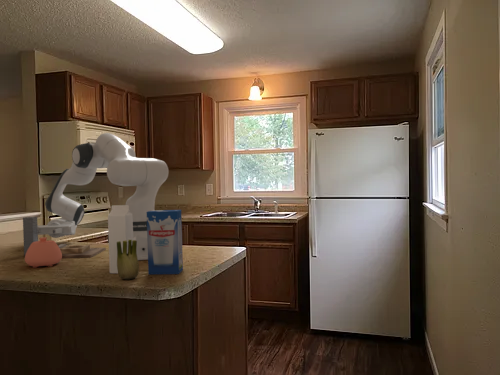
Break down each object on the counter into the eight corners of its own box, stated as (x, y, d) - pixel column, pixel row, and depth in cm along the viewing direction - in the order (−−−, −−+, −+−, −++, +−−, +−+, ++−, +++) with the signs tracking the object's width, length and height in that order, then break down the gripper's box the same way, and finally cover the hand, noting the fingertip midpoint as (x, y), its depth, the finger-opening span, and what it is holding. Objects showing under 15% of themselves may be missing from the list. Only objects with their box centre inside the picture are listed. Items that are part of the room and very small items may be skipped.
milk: (127, 273, 138) (125, 205, 137) (109, 273, 139) (107, 206, 138) (134, 269, 144) (132, 204, 143) (117, 269, 145) (115, 204, 144)
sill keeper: (105, 249, 188) (105, 242, 188) (91, 257, 170) (91, 249, 170) (55, 251, 187) (55, 244, 187) (35, 258, 169) (35, 251, 169)
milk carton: (148, 274, 136) (146, 211, 135) (153, 270, 142) (151, 210, 142) (179, 274, 135) (177, 211, 135) (183, 269, 142) (181, 209, 141)
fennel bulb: (115, 280, 129) (114, 240, 128) (124, 276, 133) (123, 238, 133) (133, 281, 127) (132, 241, 127) (141, 277, 132) (140, 238, 132)
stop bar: (38, 254, 180) (37, 216, 180) (33, 256, 176) (32, 217, 176) (28, 254, 180) (27, 216, 180) (24, 256, 176) (22, 217, 176)
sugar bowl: (21, 270, 148) (20, 240, 148) (30, 262, 162) (29, 235, 161) (59, 267, 151) (58, 238, 151) (65, 260, 165) (64, 234, 165)
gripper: (34, 222, 203) (19, 225, 189) (78, 221, 203) (66, 224, 190) (35, 235, 203) (20, 239, 189) (78, 234, 204) (66, 238, 190)
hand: (43, 231), depth 189 cm, fingers open, 8 cm apart
